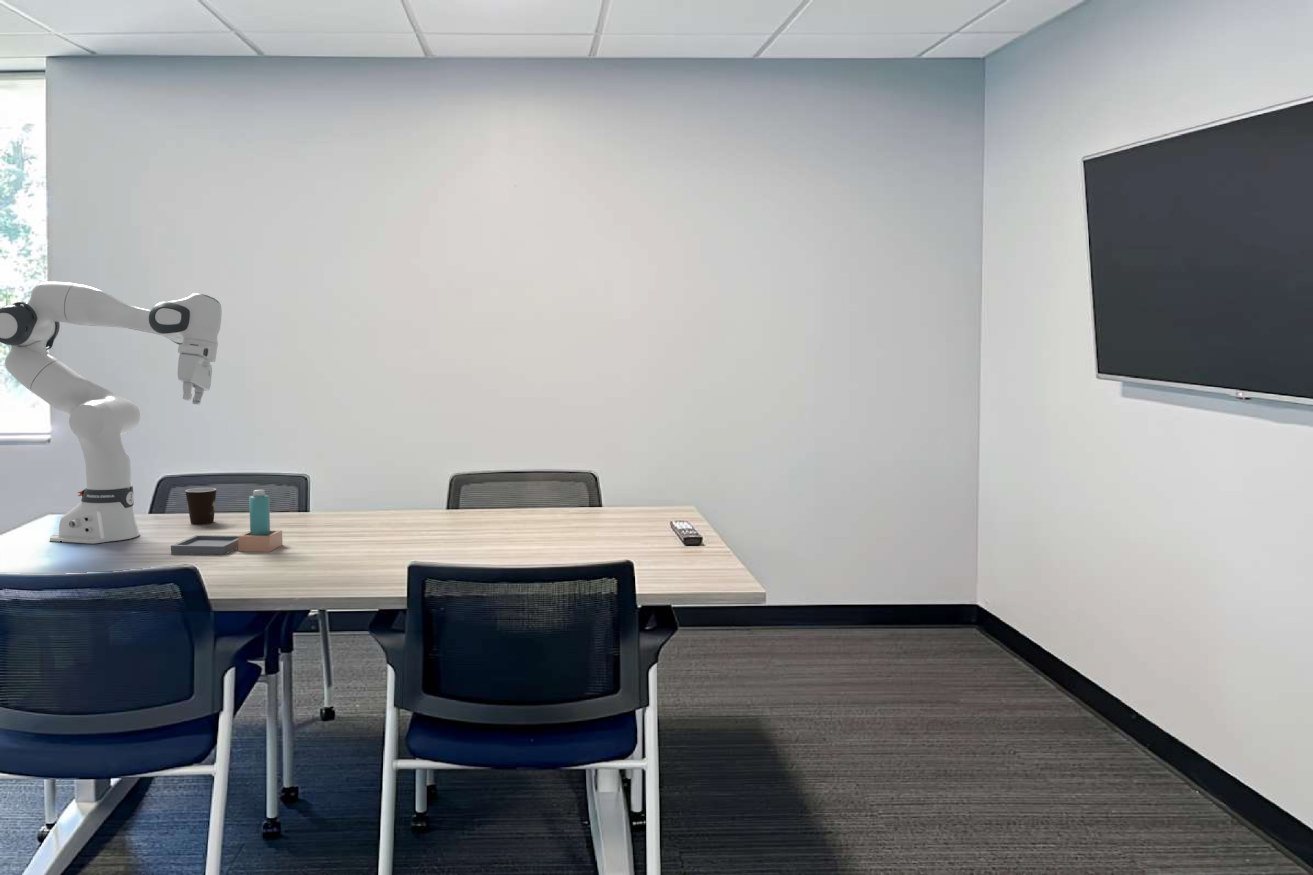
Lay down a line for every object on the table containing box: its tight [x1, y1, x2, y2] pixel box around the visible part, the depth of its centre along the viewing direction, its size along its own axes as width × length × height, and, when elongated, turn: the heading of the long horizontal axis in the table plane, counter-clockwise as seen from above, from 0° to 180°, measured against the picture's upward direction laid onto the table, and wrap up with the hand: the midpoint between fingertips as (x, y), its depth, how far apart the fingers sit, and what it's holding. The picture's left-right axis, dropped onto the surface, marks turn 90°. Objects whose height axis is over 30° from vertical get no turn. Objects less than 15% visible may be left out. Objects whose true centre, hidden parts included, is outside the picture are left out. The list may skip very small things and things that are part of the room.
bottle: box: [248, 489, 271, 536], centre depth 283 cm, size 5×5×16 cm
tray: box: [170, 534, 239, 555], centre depth 282 cm, size 14×14×2 cm
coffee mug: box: [184, 487, 217, 526], centre depth 320 cm, size 12×9×10 cm
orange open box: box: [237, 529, 283, 552], centre depth 284 cm, size 8×8×4 cm
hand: (191, 402), depth 289 cm, fingers open, 8 cm apart
